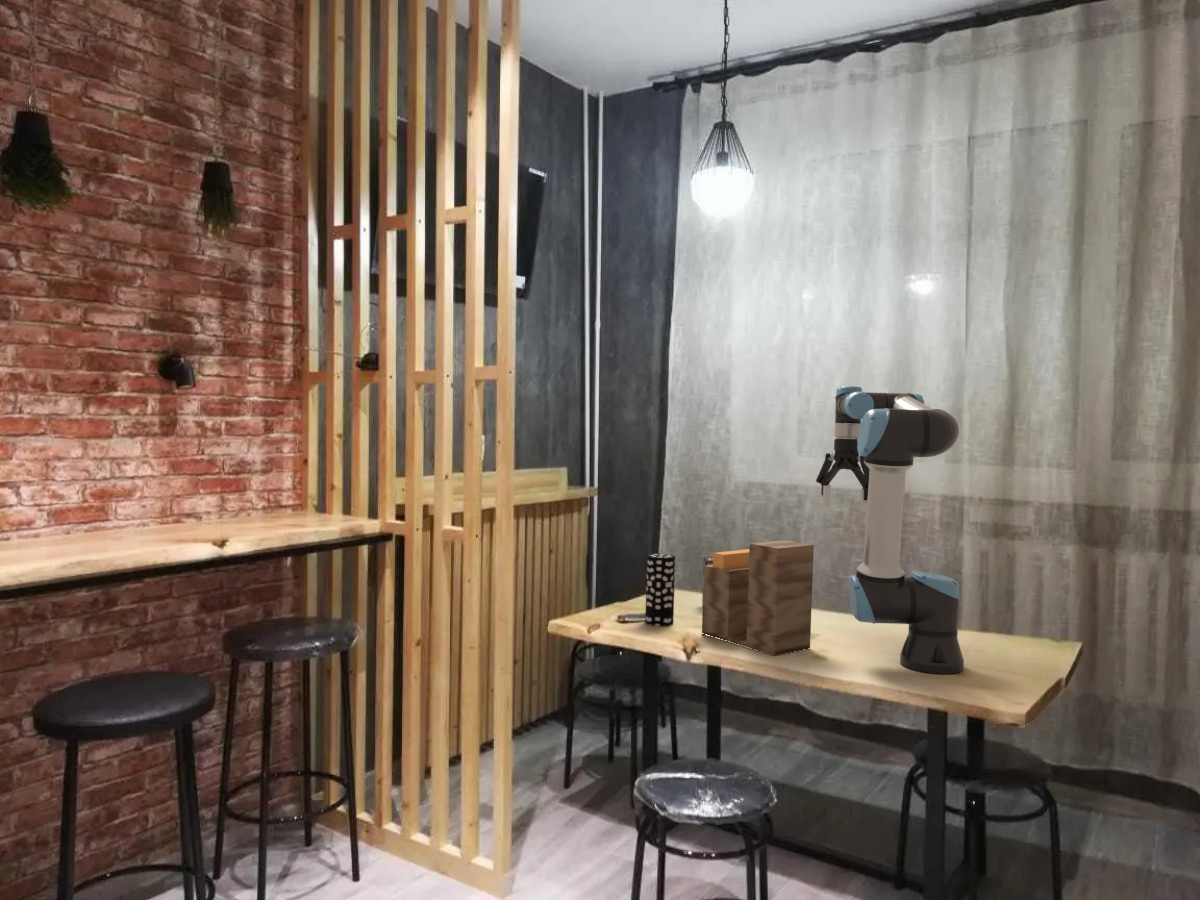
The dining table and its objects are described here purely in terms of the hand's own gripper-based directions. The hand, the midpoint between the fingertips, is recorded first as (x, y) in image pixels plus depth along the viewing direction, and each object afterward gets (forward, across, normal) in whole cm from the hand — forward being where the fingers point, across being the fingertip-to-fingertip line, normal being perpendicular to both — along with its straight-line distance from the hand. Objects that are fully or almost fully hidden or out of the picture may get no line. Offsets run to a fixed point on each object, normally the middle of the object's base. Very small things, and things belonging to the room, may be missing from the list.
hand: (844, 509), depth 275 cm
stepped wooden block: (+35, 0, +38) cm, 51 cm away
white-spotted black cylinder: (+35, +30, +46) cm, 65 cm away
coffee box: (+35, +36, +18) cm, 53 cm away
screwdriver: (+15, +8, +32) cm, 36 cm away
